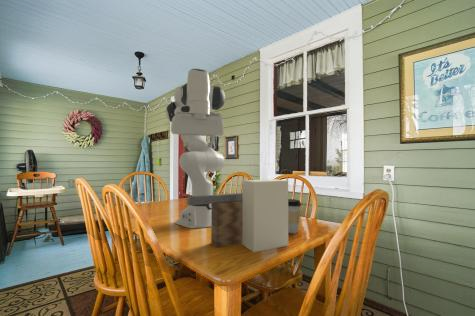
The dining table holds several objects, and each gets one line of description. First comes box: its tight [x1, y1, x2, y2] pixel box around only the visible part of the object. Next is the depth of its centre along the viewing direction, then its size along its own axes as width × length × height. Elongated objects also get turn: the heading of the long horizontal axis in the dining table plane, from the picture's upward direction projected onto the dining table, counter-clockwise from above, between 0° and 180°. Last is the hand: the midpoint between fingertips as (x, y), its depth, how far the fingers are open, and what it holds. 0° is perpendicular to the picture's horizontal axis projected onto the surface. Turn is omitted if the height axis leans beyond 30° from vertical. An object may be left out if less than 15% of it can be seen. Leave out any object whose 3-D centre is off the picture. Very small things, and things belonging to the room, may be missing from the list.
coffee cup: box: [288, 198, 302, 234], centre depth 115 cm, size 9×9×15 cm
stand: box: [241, 178, 289, 253], centre depth 96 cm, size 16×9×26 cm, turn 117°
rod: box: [186, 192, 243, 206], centre depth 97 cm, size 26×3×3 cm, turn 116°
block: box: [210, 201, 243, 248], centre depth 99 cm, size 14×6×17 cm, turn 117°
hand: (198, 147), depth 92 cm, fingers open, 8 cm apart
